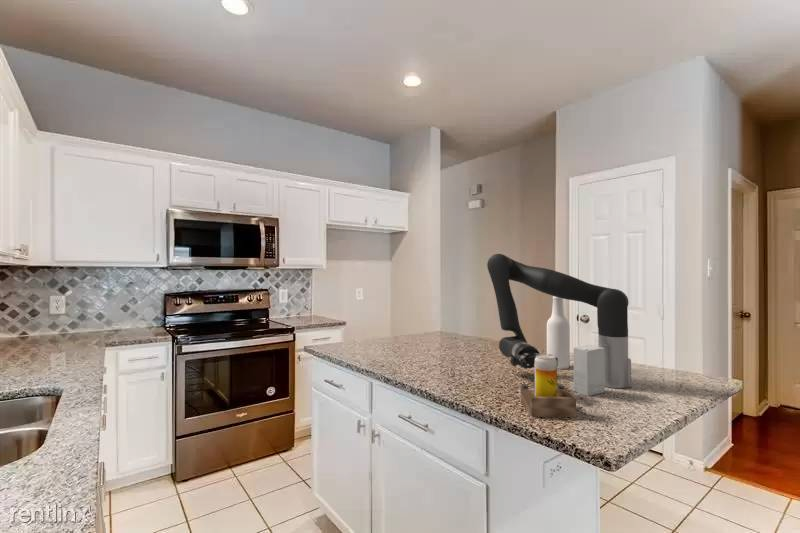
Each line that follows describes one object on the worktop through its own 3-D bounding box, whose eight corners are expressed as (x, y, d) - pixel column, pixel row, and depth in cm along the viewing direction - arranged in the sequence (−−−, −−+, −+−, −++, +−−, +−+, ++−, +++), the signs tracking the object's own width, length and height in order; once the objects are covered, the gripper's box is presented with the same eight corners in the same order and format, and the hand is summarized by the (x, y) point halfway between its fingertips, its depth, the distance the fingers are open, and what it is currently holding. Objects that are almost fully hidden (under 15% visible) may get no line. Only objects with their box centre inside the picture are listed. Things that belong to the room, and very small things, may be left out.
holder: (561, 403, 123) (561, 383, 123) (576, 417, 112) (576, 395, 112) (520, 402, 124) (520, 383, 124) (531, 416, 112) (531, 395, 112)
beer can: (558, 412, 115) (558, 359, 115) (536, 411, 116) (536, 358, 116) (555, 405, 121) (554, 354, 121) (533, 404, 122) (533, 354, 122)
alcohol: (567, 364, 173) (566, 293, 173) (571, 370, 164) (571, 294, 164) (545, 364, 174) (544, 293, 174) (548, 369, 166) (548, 294, 166)
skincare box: (590, 388, 139) (590, 344, 139) (606, 393, 133) (605, 347, 133) (572, 391, 135) (572, 346, 135) (588, 396, 130) (587, 349, 130)
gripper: (504, 343, 142) (516, 353, 125) (546, 343, 141) (563, 353, 125) (504, 365, 142) (516, 377, 125) (546, 365, 141) (563, 377, 125)
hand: (540, 365), depth 125 cm, fingers open, 8 cm apart
